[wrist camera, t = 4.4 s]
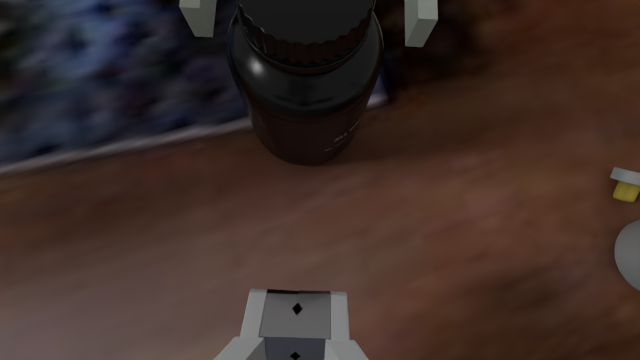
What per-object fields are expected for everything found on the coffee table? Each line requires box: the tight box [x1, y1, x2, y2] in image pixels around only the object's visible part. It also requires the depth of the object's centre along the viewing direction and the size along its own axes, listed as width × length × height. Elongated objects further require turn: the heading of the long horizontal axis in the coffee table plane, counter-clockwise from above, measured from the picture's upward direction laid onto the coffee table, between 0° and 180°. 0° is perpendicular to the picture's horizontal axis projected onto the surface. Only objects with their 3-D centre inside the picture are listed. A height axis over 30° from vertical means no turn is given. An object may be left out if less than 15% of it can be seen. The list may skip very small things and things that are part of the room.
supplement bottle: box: [226, 0, 384, 165], centre depth 17 cm, size 7×7×12 cm
